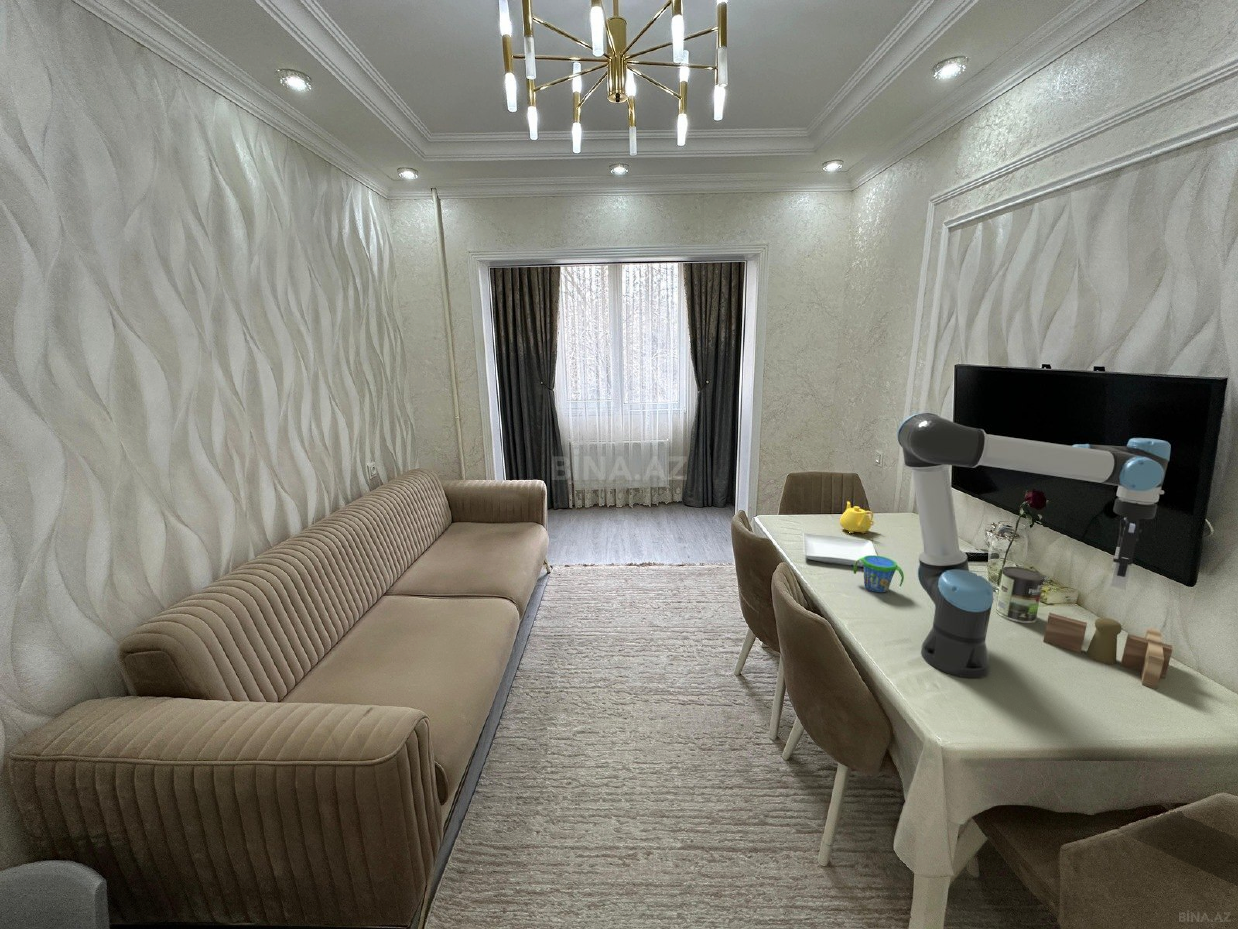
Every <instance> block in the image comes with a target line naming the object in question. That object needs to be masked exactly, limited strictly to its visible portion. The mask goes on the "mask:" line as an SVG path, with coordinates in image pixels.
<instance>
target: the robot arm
mask: <svg viewBox="0 0 1238 929" xmlns="http://www.w3.org/2000/svg"><path fill="white" fill-rule="evenodd" d="M896 436H897V442H898V444H899V445H900V447H901V448H902V454H903V459H904V466H905V467H906V468H907V469H909V470H911V471H912V478H913V479H912V480H913V485H914V492H915V498H916V504H917V505H916V506H917V513H918V520H919V526H920V533H921V534H920V535H921V541H922V546H923V550H922V551H921V553H919V555H918V563H919V565H918V567H917V579H918V581H919V584H920V585H921V587H922V589H923V590H924V592H926V594H927V595H928V596H929V598H930V599H931V601H932V602H933V604H934V605H935V606H934V607H935V608H934V615H933V622H932V627H931V628H930V630H929V632H928V634H927V636H926V637H925V639H924V640H923V642H922V644H921V649H920V651H921V652H920V653H921V656H922V659H924V661H925V662H926V663H928V664H929V665H930V666H932V667H934V668H936V669H937V670H939V671H941V672H944V673H946V674H949V675H952V676H957V677H961V678H967V679H979V678H984V677H986V676H987V675H988V673H989V672H990V667H991V663H990V662H991V661H990V657H989V652H988V646H987V643H986V638H987V633H988V627H989V623H990V618H991V611H992V606H993V604H994V588H993V585H992V584H991V583H990V582H989V581H988V579H986V578H985V577H983V576H981V575H977V573H975V572H973V571H970V568H969V562H968V555H967V554H966V552H964V551H962V550H961V549H960V543H959V535H958V528H957V521H956V512H955V507H954V498H953V493H952V492H953V490H952V484H951V482H952V481H951V476H950V470H949V467H950V466H956V467H963V468H964V467H965V468H970V469H971V468H972V469H973V468H977V467H978V466H985V467H992V468H1000V469H1005V470H1014V471H1020V472H1027V473H1033V474H1039V475H1046V476H1052V477H1053V476H1054V477H1061V478H1066V479H1072V480H1073V479H1074V480H1080V481H1088V482H1094V483H1099V484H1100V483H1101V484H1103V485H1104V484H1105V485H1110V486H1111V485H1112V486H1118V487H1117V491H1116V496H1117V498H1116V499H1115V501H1114V505H1113V509H1112V511H1113V512H1114V513H1115V514H1116V515H1119V516H1124V518H1123V519H1120V521H1119V530H1118V531H1119V535H1118V536H1119V537H1118V538H1117V543H1116V545H1117V546H1116V549H1115V554H1114V556H1113V559H1112V566H1111V571H1113V573H1112V578H1111V582H1110V587H1113V588H1117V589H1122V590H1126V589H1127V584H1128V580H1129V576H1130V572H1131V567H1132V565H1133V563H1134V561H1133V559H1134V555H1135V550H1136V544H1137V542H1138V541H1139V538H1140V533H1141V532H1142V530H1143V522H1140V520H1152V519H1154V518H1155V517H1156V514H1157V509H1158V505H1157V503H1158V502H1159V499H1160V495H1164V494H1165V491H1164V490H1162V487H1163V484H1164V480H1165V476H1166V472H1167V468H1168V463H1169V462H1170V457H1171V450H1172V449H1171V446H1172V445H1171V444H1170V443H1169V442H1168V441H1166V440H1161V439H1157V438H1156V439H1155V438H1148V437H1147V438H1146V437H1145V438H1143V437H1133V438H1130V439H1128V442H1127V444H1126V445H1123V446H1119V445H1118V446H1116V445H1106V444H1105V445H1102V444H1100V445H1099V444H1089V443H1085V444H1081V443H1080V444H1077V443H1076V444H1073V445H1067V444H1060V443H1059V444H1058V443H1051V442H1045V441H1040V440H1039V441H1038V440H1031V439H1030V440H1029V439H1024V438H1015V437H1009V436H1002V435H994V434H987V433H986V432H985V430H984V429H982V428H976V427H971V426H965V425H962V424H959V423H956V422H953V421H952V420H949V419H946V418H943V417H941V416H939V415H937V414H935V413H931V412H920V413H919V412H918V413H914V414H911V415H909V416H908V417H906V418H905V419H904V420H903V421H902V422H901V423H900V424H899V426H898V428H897V434H896Z"/></svg>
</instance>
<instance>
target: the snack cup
mask: <svg viewBox="0 0 1238 929" xmlns="http://www.w3.org/2000/svg"><path fill="white" fill-rule="evenodd" d="M858 561H862V562H863V585H864V586H865V588H866V589H867V590H868V591H872V592H877V593H879V594H880V593H881V594H882V593H886V592H888V591H889V589H890V585H891V582H892V579H893V576H894V575H895V573H896V571H898V573H899V575H900V577H901V579H900V584H899V587H902V585H903V583H904V580H905V574H904V572H903V570H902V568H901V567H900V566H899V565H898V564H897V562H896V561H895V560H893V559H891V558H889V557H886V556H880V555H877V556H875V555H869V556H865V557H863V558H860V559H858V560H857V561H856V562H855V564H854V566H853V567H852V568H853V570H852V571H853V574H854V575H856V574H857V571H858V570H857V569H858V566H857V563H858Z"/></svg>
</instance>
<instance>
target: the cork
mask: <svg viewBox="0 0 1238 929" xmlns="http://www.w3.org/2000/svg"><path fill="white" fill-rule="evenodd" d="M1094 628H1096V630H1095V631H1094V633H1093V635H1092V637H1091V640H1090V642H1089V646H1088V648H1087V650H1086V652H1085V655H1086V656H1087V657H1088V658H1090V659H1092V660H1094V661H1096V662H1099V663H1102V664H1106V665H1116V664H1117V653H1118V635H1119V634H1121V633H1122V629H1123V628H1122V625H1121V623H1120V622H1118V621H1117V620H1115V619H1112V618H1109V617H1098V618H1097V619H1096V620H1095V622H1094Z"/></svg>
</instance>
